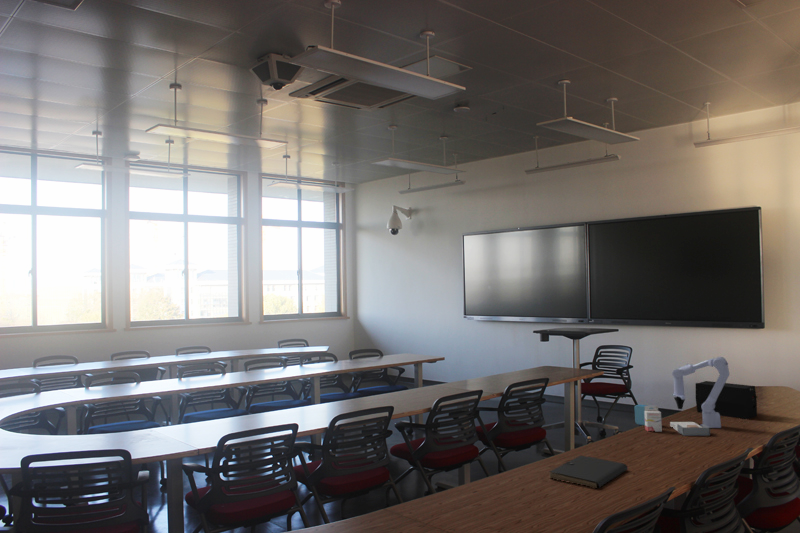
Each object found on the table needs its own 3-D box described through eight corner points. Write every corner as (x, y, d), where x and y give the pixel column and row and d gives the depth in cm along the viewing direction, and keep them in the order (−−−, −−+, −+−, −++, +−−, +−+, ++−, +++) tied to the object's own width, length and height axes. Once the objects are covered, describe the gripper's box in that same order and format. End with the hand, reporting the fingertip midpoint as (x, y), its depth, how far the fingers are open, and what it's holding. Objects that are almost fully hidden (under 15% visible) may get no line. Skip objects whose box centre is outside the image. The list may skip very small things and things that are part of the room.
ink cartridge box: (647, 431, 341) (646, 407, 342) (645, 429, 346) (643, 405, 347) (662, 431, 340) (660, 407, 341) (659, 429, 345) (658, 405, 346)
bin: (704, 431, 336) (703, 424, 336) (710, 435, 327) (709, 427, 327) (677, 431, 338) (677, 424, 338) (683, 435, 329) (682, 427, 330)
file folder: (580, 454, 287) (627, 463, 271) (580, 462, 287) (627, 472, 270) (548, 470, 263) (598, 481, 246) (549, 479, 263) (599, 491, 246)
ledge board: (693, 425, 351) (693, 421, 351) (702, 431, 337) (702, 427, 337) (670, 425, 353) (670, 421, 353) (678, 431, 339) (678, 427, 339)
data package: (656, 425, 355) (655, 406, 356) (653, 426, 353) (652, 407, 353) (638, 422, 365) (637, 404, 365) (635, 423, 362) (634, 405, 363)
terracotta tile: (695, 428, 335) (695, 424, 335) (699, 430, 330) (698, 426, 331) (687, 428, 336) (686, 424, 336) (690, 430, 331) (689, 426, 331)
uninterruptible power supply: (708, 409, 397) (706, 380, 398) (760, 416, 370) (758, 386, 371) (696, 412, 388) (694, 383, 389) (748, 420, 360) (746, 389, 361)
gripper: (668, 385, 367) (669, 406, 366) (676, 389, 352) (677, 411, 351) (679, 385, 366) (681, 406, 365) (688, 389, 351) (689, 411, 351)
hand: (680, 408), depth 358 cm, fingers closed
